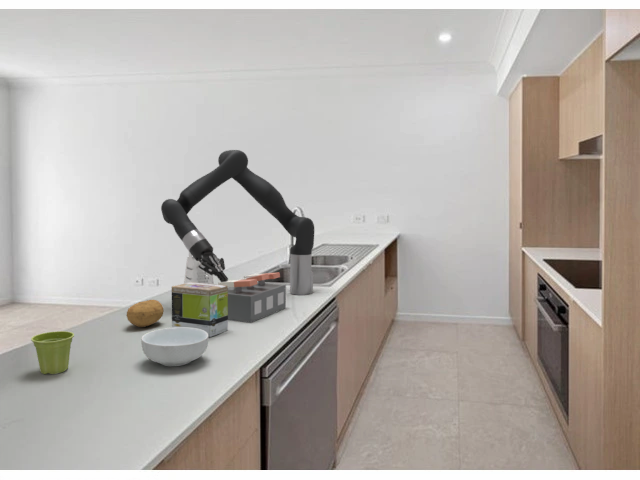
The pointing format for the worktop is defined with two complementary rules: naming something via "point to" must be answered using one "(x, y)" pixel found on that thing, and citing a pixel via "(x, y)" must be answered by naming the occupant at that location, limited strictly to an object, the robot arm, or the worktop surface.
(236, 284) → the rocker
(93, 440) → the worktop surface
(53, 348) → the plant pot
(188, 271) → the grater
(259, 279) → the block
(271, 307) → the switch console
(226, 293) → the tea box
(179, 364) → the cereal bowl
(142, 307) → the potato
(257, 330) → the worktop surface
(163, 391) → the worktop surface
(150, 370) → the worktop surface
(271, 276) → the block
